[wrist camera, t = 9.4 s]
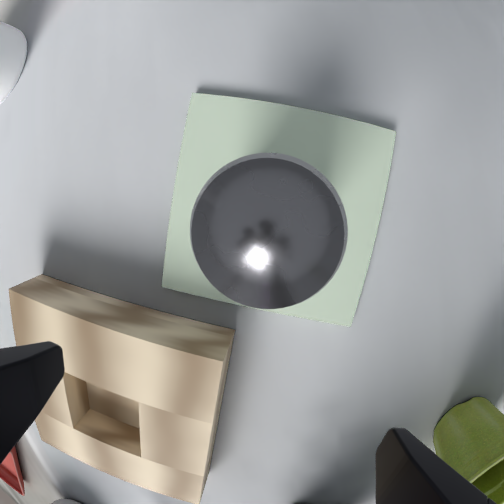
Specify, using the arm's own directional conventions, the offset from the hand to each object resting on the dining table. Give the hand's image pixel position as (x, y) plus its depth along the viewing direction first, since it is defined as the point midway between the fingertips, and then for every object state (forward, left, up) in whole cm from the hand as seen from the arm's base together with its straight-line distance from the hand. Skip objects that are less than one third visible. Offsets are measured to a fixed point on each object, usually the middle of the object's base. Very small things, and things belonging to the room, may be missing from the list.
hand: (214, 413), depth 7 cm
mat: (0, -4, -13) cm, 13 cm away
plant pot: (-20, +10, -13) cm, 26 cm away
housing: (+9, +12, -13) cm, 20 cm away
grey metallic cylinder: (0, -4, -12) cm, 13 cm away
